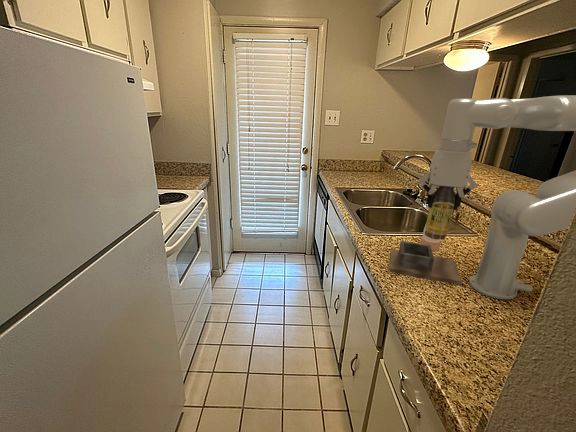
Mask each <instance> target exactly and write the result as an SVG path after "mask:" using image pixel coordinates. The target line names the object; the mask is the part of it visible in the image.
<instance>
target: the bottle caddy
mask: <svg viewBox="0 0 576 432" xmlns="http://www.w3.org/2000/svg"><path fill="white" fill-rule="evenodd" d="M389 256H390V257H389V258H390V259H389V270H388V271H389V273H392V274H398V275H404V276H410V277H414V278H420V279H426V280H429V281H436V282H440V283H441V282H442V283H447V284H452V285H455V286H462V284H463V283H462V282H463V281H462V278H461V275H460V272H459V269H458V267H457V264H456V261H455V259H454V258H448V257H443V256H437V255H434V253H433V250H432V248H431V245H425V244H420V243H418V242H411V241H410V242H409V241H406V240H405V241H404V240H400V243H399V249H395V248H394V249H393V248H391V249H390V255H389Z"/></svg>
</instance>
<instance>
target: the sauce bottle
mask: <svg viewBox="0 0 576 432" xmlns="http://www.w3.org/2000/svg"><path fill="white" fill-rule="evenodd" d="M454 189H455V188H454V187H449V186H445V187H442V186H438V187H437V188H436V191H434V192H433V195H434V199H433V204H432V207H431V208H430V210H429V211H428V215H427V218H426V219H427V220H426V222H425V225H426V227H425V226H424V228H425V235H426V236H427V237H429V238H432V239H440V240H445V239H446V238H447V235H448V232H449V228H450V224H451V222H452V221H451V220H452V217H453V211H454V204H455V198H456V192H455V190H454Z"/></svg>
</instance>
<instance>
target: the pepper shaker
mask: <svg viewBox="0 0 576 432" xmlns="http://www.w3.org/2000/svg"><path fill="white" fill-rule="evenodd" d="M429 210H430V208H429V207H428V206H427V211H428V212H429ZM425 227H426V224H425V226H424V228H423V233H422V236H421V237H420V238H421V239H420V243H419V244H425V245H431V248H432V251H438V250H439V249H440V247H441V240H442V239H432V238H429V237H427V236H426V235H425Z"/></svg>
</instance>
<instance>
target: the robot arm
mask: <svg viewBox="0 0 576 432" xmlns="http://www.w3.org/2000/svg"><path fill="white" fill-rule="evenodd" d="M476 128H484V129H490V130H497V129H498V130H499V129H503V128H513V129H514V128H517V129H519V128H520V129H527V130H533V131H547V132H548V131H550V132H556V131H557V132H563V131H564V132H571V131H572V132H576V95H573V94H571V95H567V94H566V95H565V94H564V95H562V94H561V95H550V96H541V97H540V96H539V97H533V98H532V97H531V98H515V99H514V98H512V99H510V98H506V97H497V98H496V97H495V98H486V99H477V98H454V99H451V100H450V101H449V102H448V104H447V109H446V114H445V119H444V124H443V129H442V134H441V138H440V144H439V149H436V150H435V151H434V154H433V156H432V159H431V163H430V166H429V170H428V172H427V173H425V174H424V175H423V176H421V177H419V178H418V180H417V181H418V183H419V185H421V186H422V188H423V189H424V190H425V192H426V193H427V196H426V200H425V201H426V202H425V203H426V205H427V208H428V207H429V208H431V207H432V204H433V199H434V195H433V194H434V193H435V192H436V191H435V190H437V189H438V187H439V186H442V187H445V186H449V187H454V189H455V191H456V192H455V195H456V198H455V204H454V209H453V211H458V208H460V206H461V202H462V198H464V197H465V196H466V195H467V194H469V193H470V192H471V191H473V190H474V189H476V188H477V187H478V186H479V185H478V183H477V182H476V181H475V180H474V178H473V177H472V176H471V172H472V160H473V153H472V151H471V150H472V149H476V148H477V146H478V143H477V142H473V139H474V134H475V130H476ZM426 181H427V182H428V183H429V184H430V185H428V184H427V183H426ZM535 193H536V195H533V194H530V193H528V192H526V191H523V190H517V189H510V190H506V191H503V192H502V193H500V194H499V195H497V197H496V198H495V199H494V201H493V204H492V206H491V212H490V213H491V214H490V223H489V230H488V234H487V237H486V240H485V243H484V247H483V252H482V254H481V257H480V262H479V264H478V265H479V266H478V268H477V272H476V274H474V275H471V276H470V277H469V280H468V282H469V285H470V286H471V288H473V289H474V290H475V291H477V292H479V293H481V294H482V295H484V296H487V297H491V298H494V299H498V300H512V299H515V298H516V297H517V294H518V291H521V290H522V291H525V292H529V293H531V292H533V285H531V284H525V281H524V280H516V278H517V277H516V276H517V274H518V270H519V267H520V265H521V261H522V259H523V257H524V256H523V255H524V253H525V249H526V247H527V244H528V240H529V236H530V237H531V236H532V237H540V236H545V235H549V234H551V233H552V234H553V233H555V232H558V231H562V230H565V229H569V228H570V227H569V224H570V222H571V219H572V216H573V214H574V211H575V208H576V170H573V171H570V172H567V173H565V174H562V175H559V176H556V177H553V178H551V179H548V180H545V181H544V182H542V184H540V185H539V186H538V188H537V189H536V192H535ZM568 227H569V228H568Z"/></svg>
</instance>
